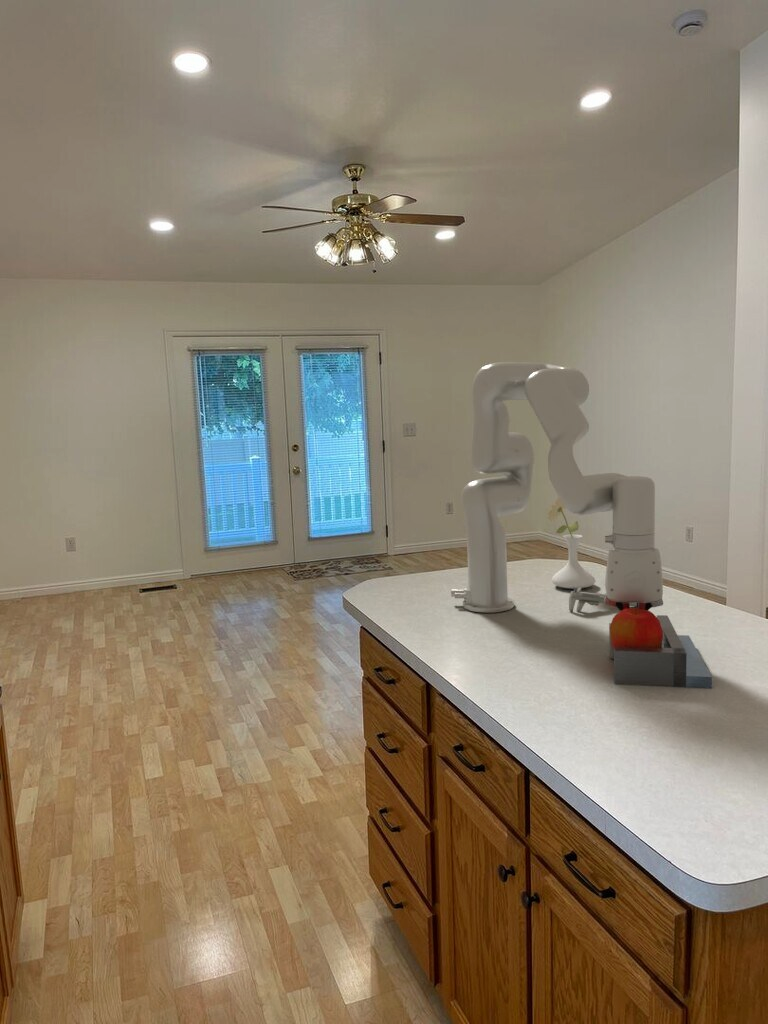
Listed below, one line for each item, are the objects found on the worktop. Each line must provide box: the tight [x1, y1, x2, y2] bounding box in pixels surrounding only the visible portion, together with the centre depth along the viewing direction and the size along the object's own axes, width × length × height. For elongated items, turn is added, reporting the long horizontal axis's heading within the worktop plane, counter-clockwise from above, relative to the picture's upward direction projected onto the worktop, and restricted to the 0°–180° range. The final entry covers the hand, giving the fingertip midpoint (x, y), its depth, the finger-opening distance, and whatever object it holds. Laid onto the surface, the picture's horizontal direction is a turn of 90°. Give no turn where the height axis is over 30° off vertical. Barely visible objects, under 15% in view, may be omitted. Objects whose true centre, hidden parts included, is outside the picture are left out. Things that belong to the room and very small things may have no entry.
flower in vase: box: [546, 497, 596, 590], centre depth 186 cm, size 13×11×25 cm
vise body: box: [613, 614, 713, 689], centre depth 130 cm, size 16×22×6 cm
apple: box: [608, 606, 663, 649], centre depth 127 cm, size 9×9×12 cm
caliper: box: [568, 587, 637, 614], centre depth 166 cm, size 20×1×6 cm, turn 97°
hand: (633, 634), depth 136 cm, fingers closed
